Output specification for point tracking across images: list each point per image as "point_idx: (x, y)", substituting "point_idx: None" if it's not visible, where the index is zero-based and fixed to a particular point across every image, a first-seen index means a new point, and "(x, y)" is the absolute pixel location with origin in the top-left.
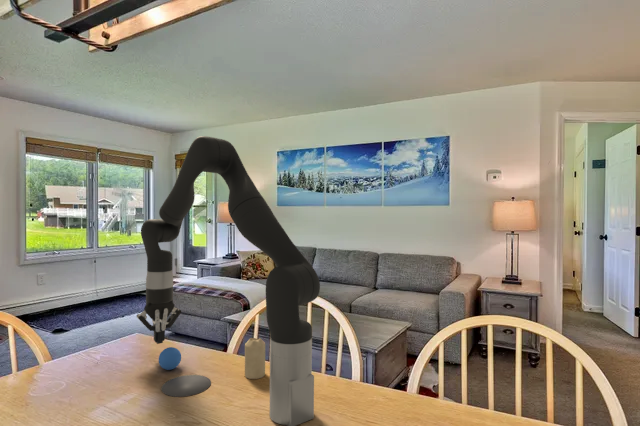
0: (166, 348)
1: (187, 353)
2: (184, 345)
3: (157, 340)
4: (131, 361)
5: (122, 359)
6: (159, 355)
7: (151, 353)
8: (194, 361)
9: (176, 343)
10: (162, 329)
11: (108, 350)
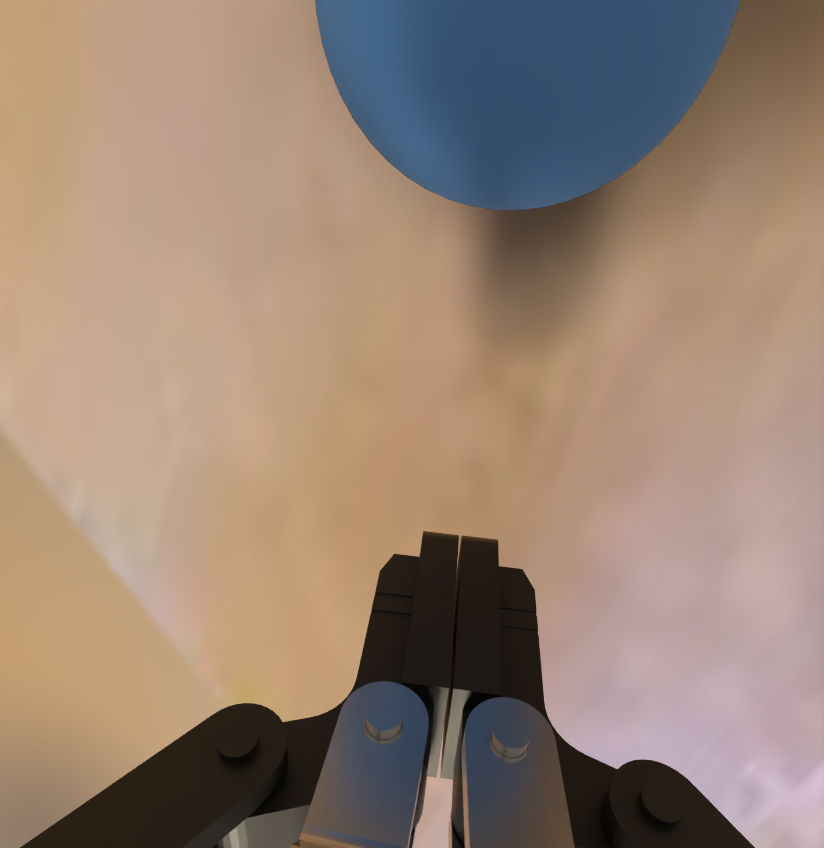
0: (593, 41)
1: (161, 378)
2: (142, 577)
3: (495, 583)
4: (703, 549)
5: (729, 635)
6: (707, 76)
7: None
8: (139, 56)
9: (196, 653)
10: (408, 713)
11: None
